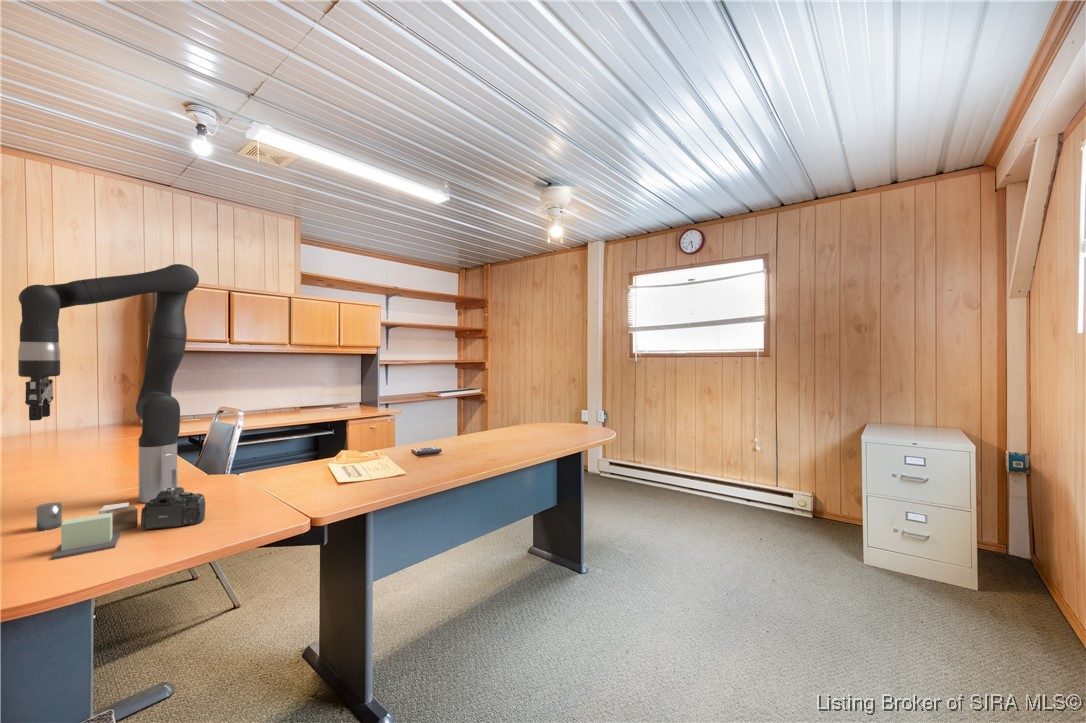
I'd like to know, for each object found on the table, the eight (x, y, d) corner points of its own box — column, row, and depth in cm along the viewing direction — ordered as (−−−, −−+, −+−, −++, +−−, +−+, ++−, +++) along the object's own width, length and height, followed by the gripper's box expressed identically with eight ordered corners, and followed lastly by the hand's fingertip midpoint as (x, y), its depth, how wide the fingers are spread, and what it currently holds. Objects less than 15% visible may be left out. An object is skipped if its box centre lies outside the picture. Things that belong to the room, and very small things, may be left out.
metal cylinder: (63, 523, 119) (63, 501, 118) (59, 528, 115) (59, 505, 115) (39, 527, 116) (38, 504, 116) (34, 532, 112) (34, 509, 112)
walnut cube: (132, 523, 119) (132, 505, 119) (137, 527, 116) (137, 509, 116) (107, 529, 115) (107, 510, 115) (111, 533, 112) (111, 514, 112)
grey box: (128, 516, 124) (128, 502, 124) (124, 522, 120) (124, 507, 120) (104, 519, 122) (104, 505, 121) (99, 525, 117) (99, 511, 117)
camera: (203, 513, 127) (203, 479, 127) (207, 523, 119) (207, 486, 119) (141, 525, 118) (141, 488, 118) (140, 536, 110) (140, 497, 110)
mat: (120, 534, 112) (120, 531, 112) (114, 547, 104) (114, 545, 104) (62, 544, 105) (62, 541, 105) (52, 559, 98) (52, 556, 98)
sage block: (112, 536, 109) (112, 512, 109) (110, 541, 105) (110, 517, 105) (65, 545, 104) (65, 519, 104) (61, 550, 100) (61, 524, 100)
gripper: (53, 359, 116) (54, 420, 116) (65, 358, 127) (65, 414, 127) (10, 359, 111) (10, 422, 112) (26, 358, 123) (26, 416, 123)
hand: (39, 418), depth 120 cm, fingers open, 8 cm apart
